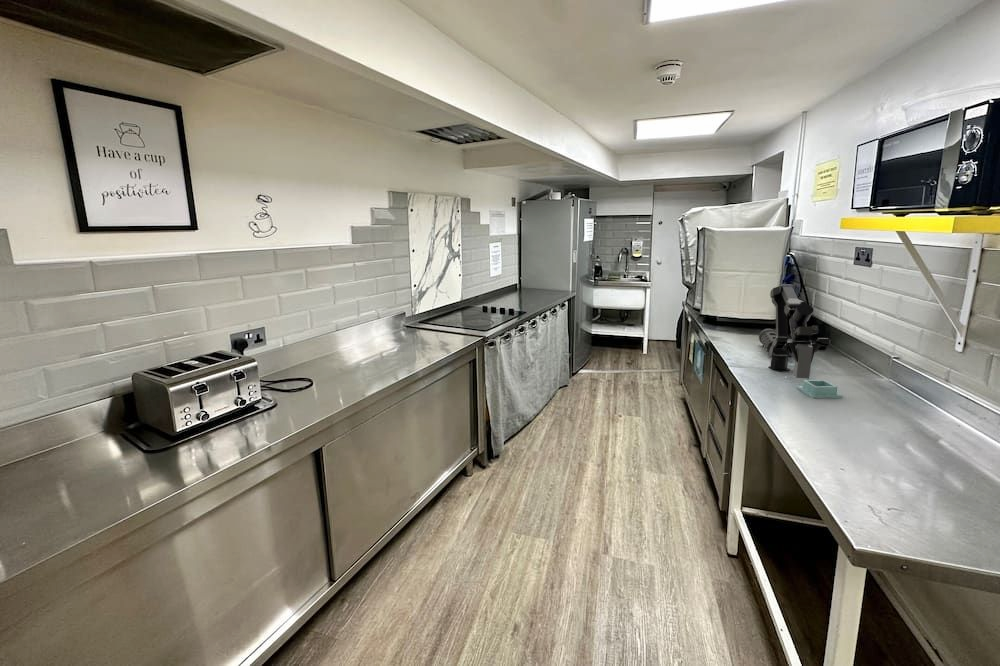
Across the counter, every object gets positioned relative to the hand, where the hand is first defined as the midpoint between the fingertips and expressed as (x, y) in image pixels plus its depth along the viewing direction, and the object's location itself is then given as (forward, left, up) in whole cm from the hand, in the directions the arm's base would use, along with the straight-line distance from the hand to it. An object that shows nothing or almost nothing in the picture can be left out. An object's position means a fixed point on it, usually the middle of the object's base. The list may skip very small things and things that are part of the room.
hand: (804, 361), depth 178 cm
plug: (-1, -1, -7) cm, 7 cm away
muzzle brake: (-38, -53, -14) cm, 67 cm away
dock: (-7, +2, -13) cm, 15 cm away
